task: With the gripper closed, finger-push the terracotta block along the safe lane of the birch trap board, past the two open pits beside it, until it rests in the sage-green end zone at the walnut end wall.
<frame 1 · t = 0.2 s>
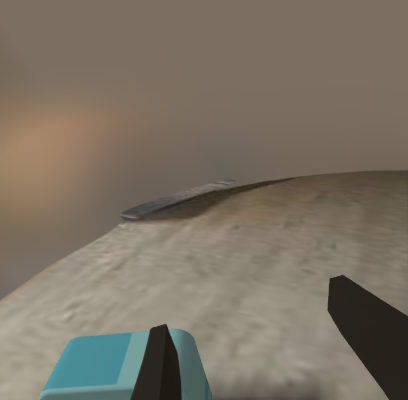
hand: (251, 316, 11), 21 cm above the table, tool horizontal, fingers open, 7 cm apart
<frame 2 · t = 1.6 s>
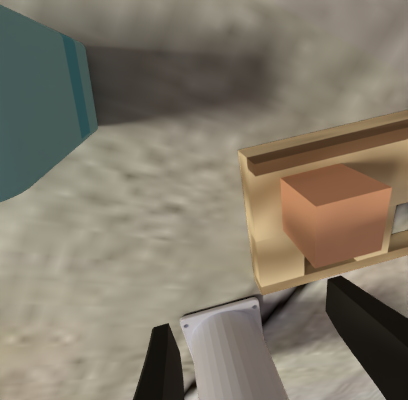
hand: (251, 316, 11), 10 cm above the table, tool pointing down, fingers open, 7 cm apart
block: (310, 198, 19), point 2 cm above the table, touching trap board
trap board: (356, 195, 22), on the table
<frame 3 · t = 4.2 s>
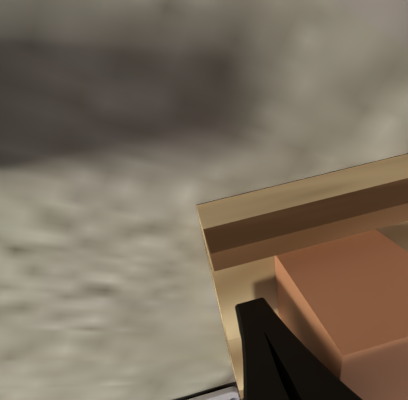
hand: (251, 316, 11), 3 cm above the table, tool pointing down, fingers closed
block: (321, 276, 12), point 2 cm above the table, touching gripper, trap board
trap board: (379, 258, 15), on the table
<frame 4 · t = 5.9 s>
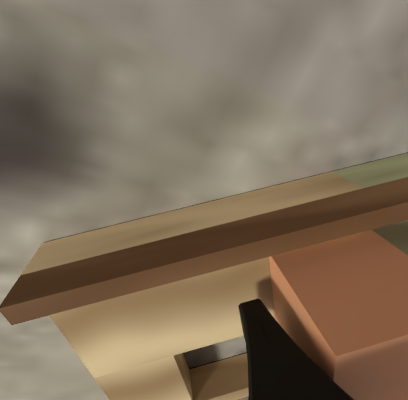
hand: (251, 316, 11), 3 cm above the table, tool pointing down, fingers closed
block: (316, 276, 12), point 2 cm above the table, touching gripper, trap board
trap board: (270, 288, 15), on the table
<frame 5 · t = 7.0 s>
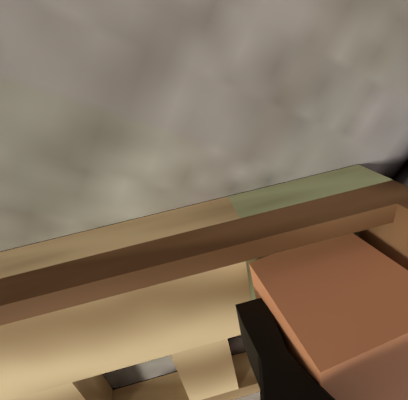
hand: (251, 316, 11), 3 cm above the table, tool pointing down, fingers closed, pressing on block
block: (300, 281, 12), point 2 cm above the table, tilted 5°, touching gripper, trap board
trap board: (183, 310, 14), on the table
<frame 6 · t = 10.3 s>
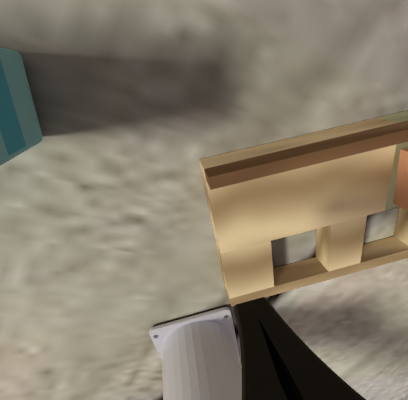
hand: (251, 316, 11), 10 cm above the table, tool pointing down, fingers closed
trap board: (328, 204, 21), on the table
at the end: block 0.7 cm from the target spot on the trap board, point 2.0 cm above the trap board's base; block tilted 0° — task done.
